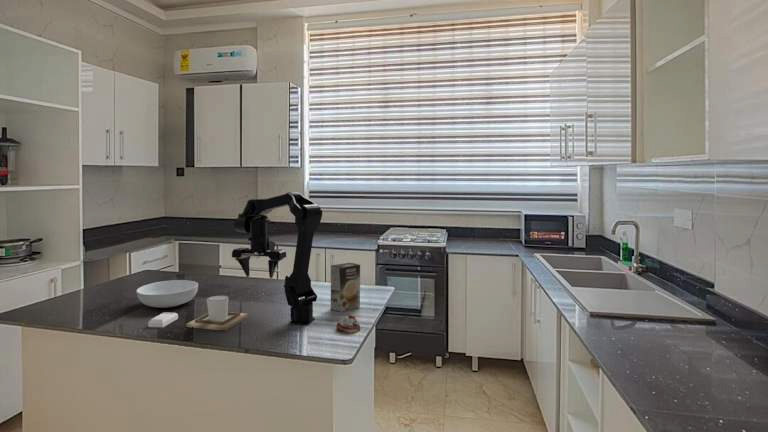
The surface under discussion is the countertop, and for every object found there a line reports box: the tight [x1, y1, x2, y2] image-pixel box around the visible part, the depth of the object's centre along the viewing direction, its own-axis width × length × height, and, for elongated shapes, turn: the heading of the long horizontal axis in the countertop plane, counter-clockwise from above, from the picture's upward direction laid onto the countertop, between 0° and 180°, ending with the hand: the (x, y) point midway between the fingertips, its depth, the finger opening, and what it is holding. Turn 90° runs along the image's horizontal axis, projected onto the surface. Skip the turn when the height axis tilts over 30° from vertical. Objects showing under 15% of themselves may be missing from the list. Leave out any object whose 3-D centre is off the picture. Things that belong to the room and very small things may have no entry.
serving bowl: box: [135, 279, 199, 309], centre depth 166 cm, size 21×21×7 cm
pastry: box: [336, 314, 361, 334], centre depth 140 cm, size 8×8×5 cm
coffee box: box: [330, 262, 361, 313], centre depth 162 cm, size 9×6×16 cm
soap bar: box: [147, 311, 179, 328], centre depth 146 cm, size 5×9×3 cm, turn 176°
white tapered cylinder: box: [206, 295, 229, 321], centre depth 147 cm, size 7×7×7 cm
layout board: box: [185, 311, 249, 331], centre depth 147 cm, size 14×14×2 cm
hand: (259, 277), depth 159 cm, fingers open, 9 cm apart
